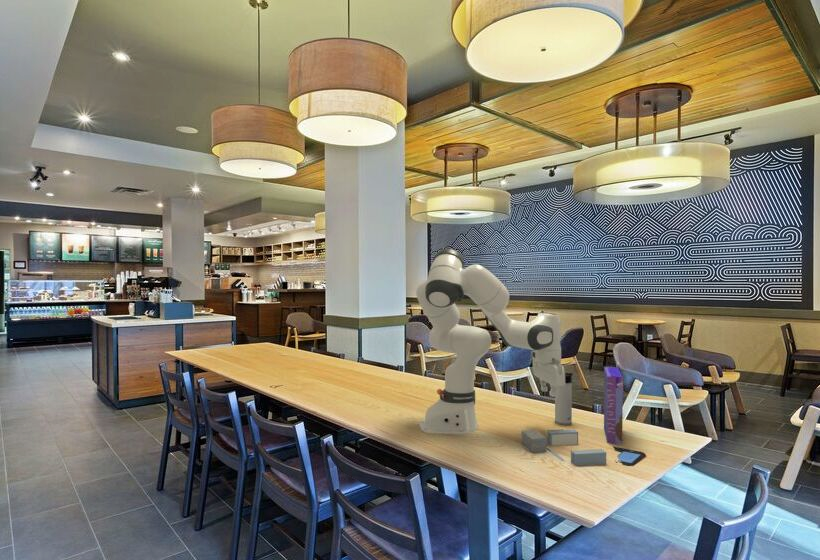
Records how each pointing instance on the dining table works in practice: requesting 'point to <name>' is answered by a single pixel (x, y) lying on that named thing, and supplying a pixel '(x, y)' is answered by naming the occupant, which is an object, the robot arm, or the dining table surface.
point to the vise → (585, 456)
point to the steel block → (534, 441)
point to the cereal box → (613, 404)
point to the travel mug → (564, 402)
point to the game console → (629, 456)
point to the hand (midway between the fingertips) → (548, 393)
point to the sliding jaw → (562, 437)
